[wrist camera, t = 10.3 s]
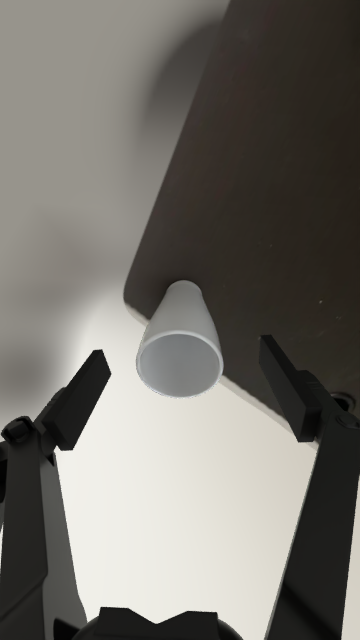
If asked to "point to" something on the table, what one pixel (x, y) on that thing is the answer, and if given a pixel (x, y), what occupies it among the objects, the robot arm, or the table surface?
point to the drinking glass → (180, 345)
